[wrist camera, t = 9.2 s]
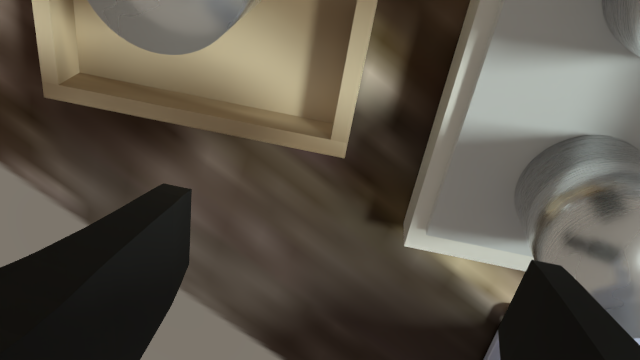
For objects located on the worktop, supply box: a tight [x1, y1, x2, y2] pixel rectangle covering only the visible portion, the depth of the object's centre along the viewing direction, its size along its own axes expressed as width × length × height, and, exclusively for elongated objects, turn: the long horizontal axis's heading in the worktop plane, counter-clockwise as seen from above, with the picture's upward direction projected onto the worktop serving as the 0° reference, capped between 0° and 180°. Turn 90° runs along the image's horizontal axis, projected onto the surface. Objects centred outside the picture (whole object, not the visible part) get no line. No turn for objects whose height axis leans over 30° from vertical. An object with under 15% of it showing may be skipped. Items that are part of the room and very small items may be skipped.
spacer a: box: [514, 135, 640, 339], centre depth 16 cm, size 4×4×4 cm
